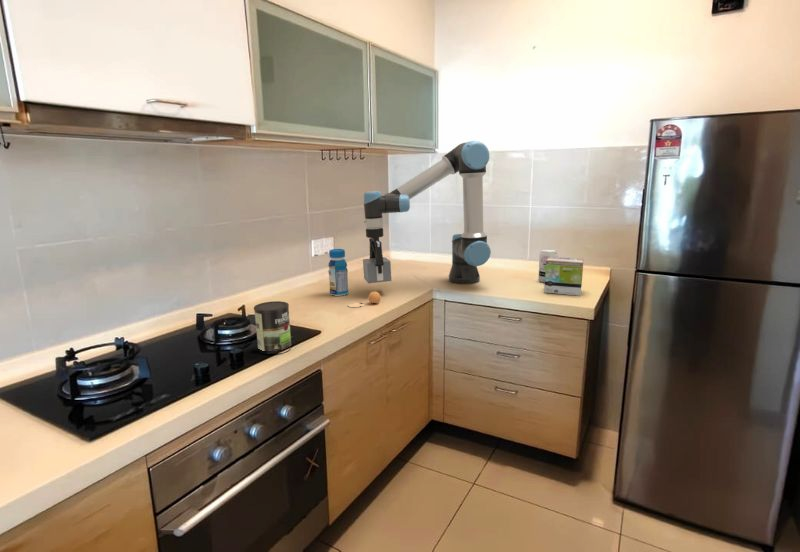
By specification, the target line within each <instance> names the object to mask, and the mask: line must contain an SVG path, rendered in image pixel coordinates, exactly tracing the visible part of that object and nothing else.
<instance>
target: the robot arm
mask: <svg viewBox="0 0 800 552" xmlns="http://www.w3.org/2000/svg"><path fill="white" fill-rule="evenodd" d="M489 161H490V151H489V148H488V147H487V146H486V144H484V143H483V142H481V141H476V140H471V141H467V142H462V143H460V144H458V145H457V146H455V147H453V149H451V150H450V151H448V152H447V153H446V154H444V155H442V158H441V160H439V161H438V162H436V163H434V164H433V165H431V166H430V167H428V168H426V169H425V170H424V171H422V172H420V173H418V174H417V175H416V176H414V177H413V178H410V179H409V180H408V181H406V182H405V183H403V184H401V185H400V186H398V187H397V188H395V189H394V190H391V191H390V192H387V193H385V194H384V195H382V192H381V191H380V190H379V191H373V190H372V191H366V192H364V193H363V207H364V219H365V220H364V221H363V224H365V228H366V229H365V237H366V238H368V240H369V259H371V258H375V259H376V265H375V266H376V274H377V281H382V280H383V265H384V263H383V256H384V255H383V250H382V248H383V247H382V244H383V243H382V241H380V238H383V237H384V220H383V219H384V218H383V214H391V213H393V214H395V213H396V214H397V213H406V212H407V213H408V212H409V210H410V208H411V207H410V206H411V203H410V202H411V201H410V200H411V199H414V197H416V196H418V195H419V194H422V192H424V191H425V190H426V191H427V189H429V188H431V187H432V186H434V185H436V183H438V182H440V181H442V180H443V179H445V178H446V177H448V176H449V175H455V174H457V173H458V175H460V177H461V178H462V199H463V200H462V204H463V208H462V209H463V233H456V234H453V235H452V236H451V239H452V240H451V250H452V251H451V253H452V254H451V255H452V256H451V257H452V258H451V261H452V262H451V263H452V265H451V267H450V271H449V274H448V281H449V282H450V281H451V282H450V283H453V282H455V283H454V284H460V283H469V284H475V283H479V282H480V281H481V280H480V279H481V276H480V273H479V272H480V271H479V269H478V267H481V266H483V265H485V263H487V262H488V260H489V259H490V257H491V253H492V251H491V248H490V246H489V244H488V235H487V233H485V231H484V196H483V195H484V194H483V193H484V192H483V191H484V185H483V184H484V182H483V177H484V175H486V173H487V165H488V162H489ZM379 262H381V263H379Z"/></svg>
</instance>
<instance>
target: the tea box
mask: <svg viewBox="0 0 800 552" xmlns="http://www.w3.org/2000/svg"><path fill="white" fill-rule="evenodd" d="M583 271H584V258H579V257H564V256H563V257H562V256H560V257H559V256H558V257H549V256H548V258H547V261H546V271H545V283H544V285H543V287H544V289H543V291H544V292H543V293H544V294H559V295H570V296H579V297H580V296H581V293H582V286H583V285H582V284H583Z"/></svg>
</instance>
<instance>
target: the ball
mask: <svg viewBox="0 0 800 552" xmlns="http://www.w3.org/2000/svg"><path fill="white" fill-rule="evenodd" d="M381 298H382V296H381V294H380V293H379V292H378V291H371V292H370V293H369V294H368V301H369V302H370V303H371V304H373V303H376V304H378V303H380V302H381Z"/></svg>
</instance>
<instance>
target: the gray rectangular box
mask: <svg viewBox="0 0 800 552" xmlns="http://www.w3.org/2000/svg"><path fill="white" fill-rule="evenodd" d="M379 263H381V262H379ZM383 263H384V265H383V280H382V281H377V274H376V266H375V265H376V259H375V258H371V259H370V258H364V259H362V269H363V279H364V280H365V281H366V282H367V284H368V285H369V284H376V283H385V282H386V283H387V282H392V267H391V265H392V264H391V260H390V259H388V258H387V257H385V256H384V257H383Z"/></svg>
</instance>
